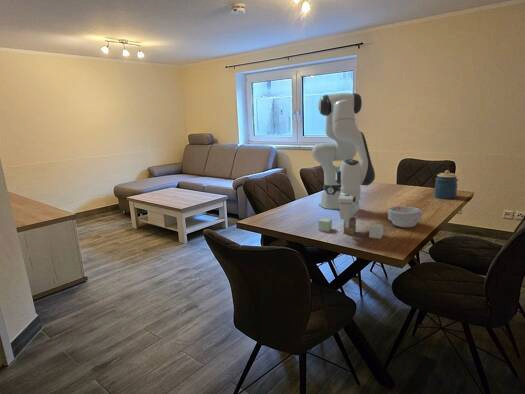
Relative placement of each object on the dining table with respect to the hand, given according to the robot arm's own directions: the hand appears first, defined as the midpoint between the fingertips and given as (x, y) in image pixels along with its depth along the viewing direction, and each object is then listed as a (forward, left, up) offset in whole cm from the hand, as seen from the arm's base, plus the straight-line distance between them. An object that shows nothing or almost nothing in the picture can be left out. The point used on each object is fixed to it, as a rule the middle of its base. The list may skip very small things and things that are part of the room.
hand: (349, 224), depth 157 cm
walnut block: (0, 0, -4) cm, 4 cm away
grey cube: (0, +12, -4) cm, 13 cm away
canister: (-93, +37, -5) cm, 100 cm away
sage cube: (0, -12, -4) cm, 13 cm away
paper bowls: (-22, +21, -5) cm, 31 cm away
